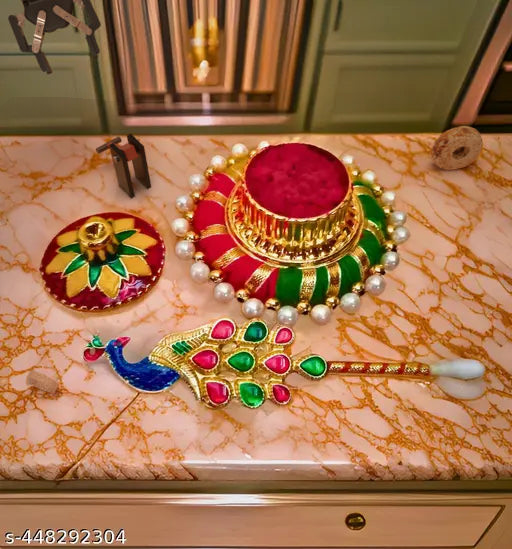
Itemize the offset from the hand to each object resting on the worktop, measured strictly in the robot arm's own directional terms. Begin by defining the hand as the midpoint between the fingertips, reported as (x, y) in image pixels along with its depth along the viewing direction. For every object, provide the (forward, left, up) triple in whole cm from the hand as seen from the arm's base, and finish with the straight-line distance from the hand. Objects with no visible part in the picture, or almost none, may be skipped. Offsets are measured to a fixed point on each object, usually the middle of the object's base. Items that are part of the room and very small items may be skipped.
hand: (73, 65), depth 102 cm
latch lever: (+8, -1, -17) cm, 19 cm away
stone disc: (+66, +36, -25) cm, 80 cm away
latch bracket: (+10, -2, -25) cm, 27 cm away
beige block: (+21, -45, -25) cm, 56 cm away
